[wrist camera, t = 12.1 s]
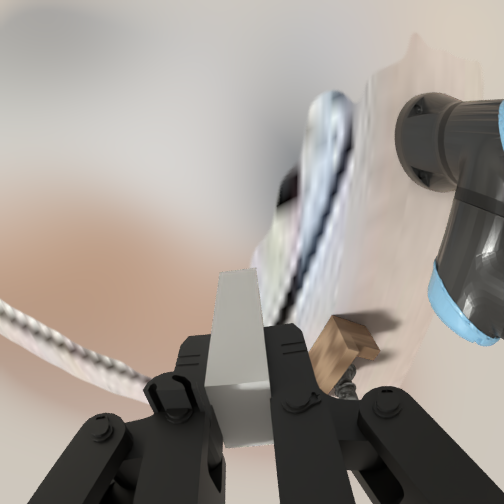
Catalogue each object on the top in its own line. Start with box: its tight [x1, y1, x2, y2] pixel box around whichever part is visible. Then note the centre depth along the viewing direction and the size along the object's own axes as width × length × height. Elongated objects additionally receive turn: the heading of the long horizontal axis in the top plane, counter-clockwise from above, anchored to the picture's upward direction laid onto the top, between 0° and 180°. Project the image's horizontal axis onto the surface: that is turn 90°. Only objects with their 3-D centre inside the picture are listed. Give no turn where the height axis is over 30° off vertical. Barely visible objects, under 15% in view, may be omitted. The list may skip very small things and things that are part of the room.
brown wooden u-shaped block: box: [308, 315, 380, 395], centre depth 47 cm, size 18×7×9 cm, turn 157°
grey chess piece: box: [334, 364, 358, 400], centre depth 46 cm, size 6×6×12 cm
